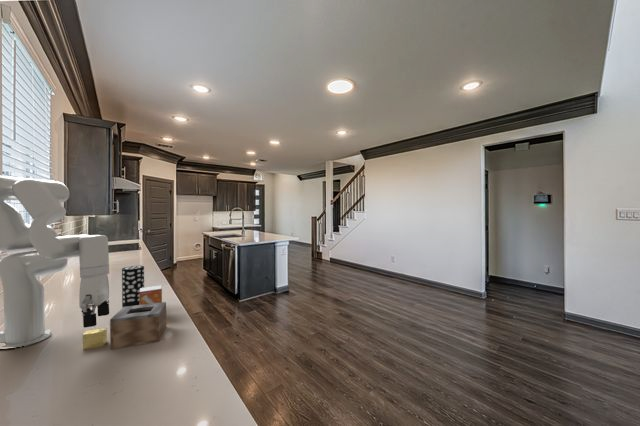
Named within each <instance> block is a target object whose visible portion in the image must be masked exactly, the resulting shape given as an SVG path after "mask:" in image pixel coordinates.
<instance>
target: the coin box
mask: <svg viewBox="0 0 640 426" xmlns="http://www.w3.org/2000/svg"><path fill="white" fill-rule="evenodd" d="M109 329H110V330H109V331H110V332H109V335H110V339H109V340H110V343H109V344H110V350H114V349H120V348H121V349H122V348H127V347H133V346H139V345H145V344H152V343H158V342H160V341H161V339H162V337H163V334H164V332H165V330H166V329H167V302H166V301H165V302H164V301H162V302H161V303H153V304H144V305H135V306H126V307H123V308H122V307H121V309H120V310H119V311H118V312H116V314H114V315H113V316H112V317H111V318H110V319H109Z"/></svg>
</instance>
